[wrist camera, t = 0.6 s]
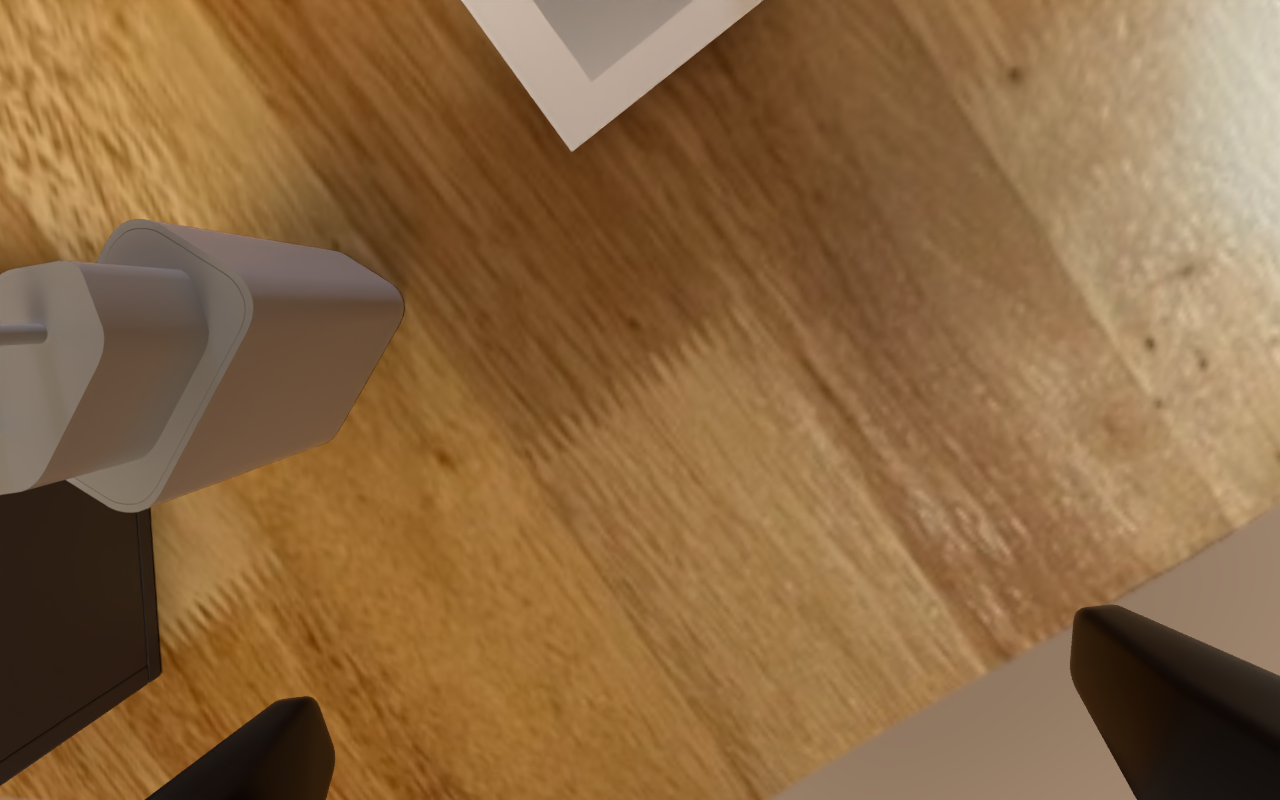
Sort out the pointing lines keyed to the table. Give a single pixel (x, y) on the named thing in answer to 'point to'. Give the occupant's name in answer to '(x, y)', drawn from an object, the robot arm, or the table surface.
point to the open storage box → (70, 616)
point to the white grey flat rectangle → (598, 50)
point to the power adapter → (181, 360)
